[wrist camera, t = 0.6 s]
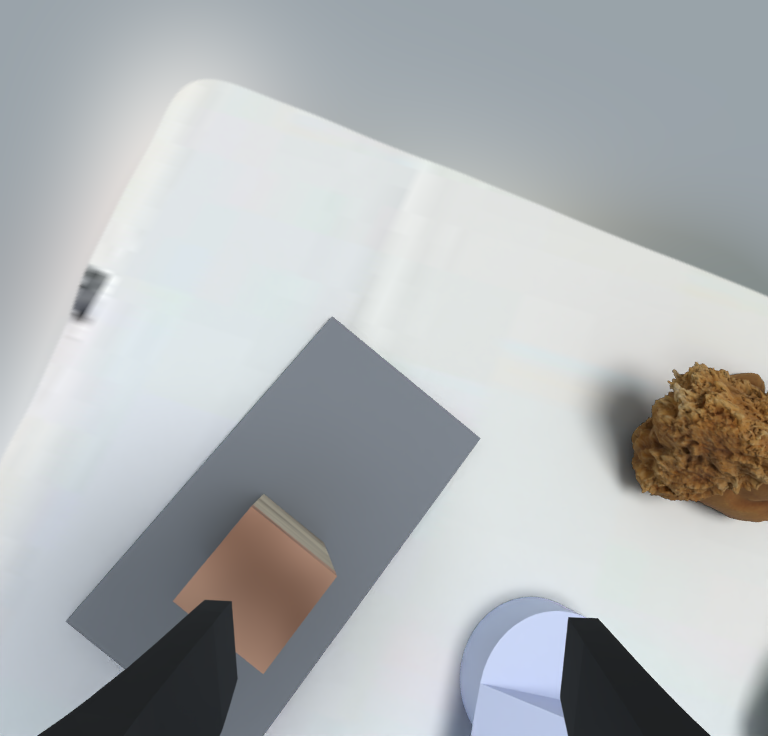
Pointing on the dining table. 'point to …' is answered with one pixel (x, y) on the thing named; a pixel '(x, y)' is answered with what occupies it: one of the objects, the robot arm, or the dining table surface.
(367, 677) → the dining table surface
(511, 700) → the wedge on round base
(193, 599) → the maple block
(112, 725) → the robot arm
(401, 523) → the rubber mat
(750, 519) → the brown furry figure
